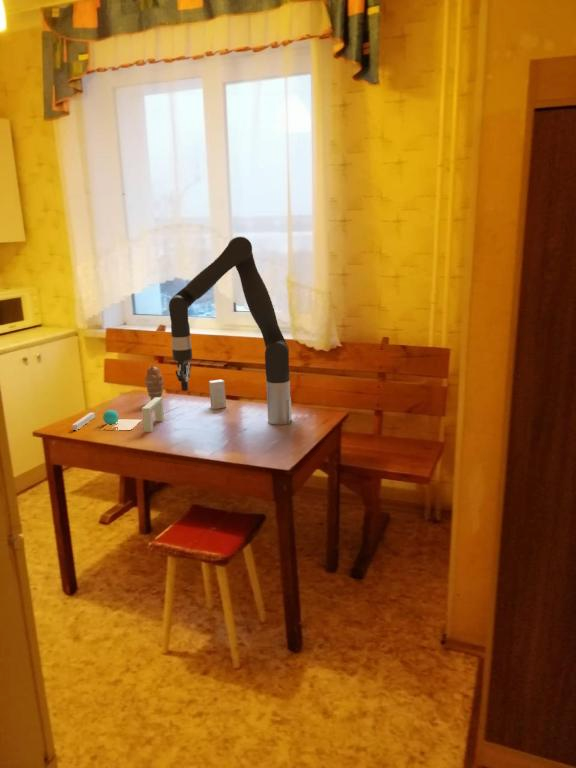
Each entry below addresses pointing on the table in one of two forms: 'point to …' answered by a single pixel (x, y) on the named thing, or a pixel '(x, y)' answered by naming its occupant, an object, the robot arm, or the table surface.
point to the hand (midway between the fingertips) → (185, 390)
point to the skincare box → (217, 394)
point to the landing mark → (126, 424)
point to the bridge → (147, 413)
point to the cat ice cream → (154, 382)
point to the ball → (110, 417)
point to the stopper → (83, 421)
